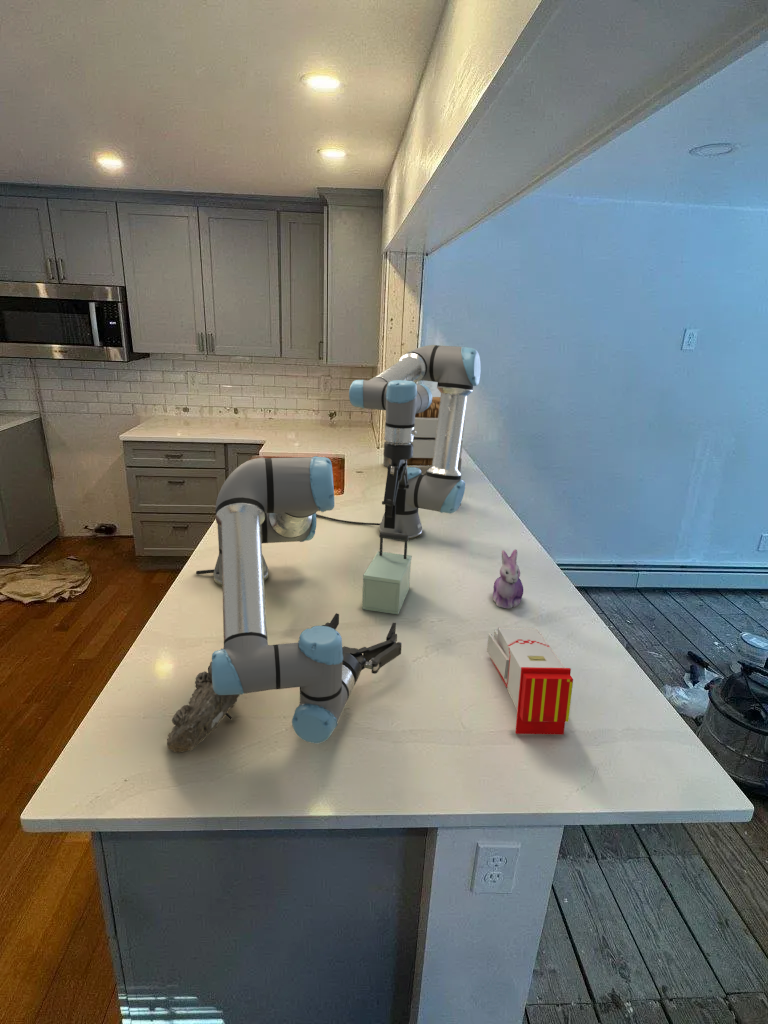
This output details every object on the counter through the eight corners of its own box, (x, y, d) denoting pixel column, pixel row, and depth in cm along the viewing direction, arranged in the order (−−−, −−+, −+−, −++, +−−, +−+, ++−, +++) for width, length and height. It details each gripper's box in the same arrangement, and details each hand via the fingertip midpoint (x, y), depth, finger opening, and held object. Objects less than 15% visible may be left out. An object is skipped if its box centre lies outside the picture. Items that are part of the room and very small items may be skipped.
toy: (534, 612, 132) (582, 675, 102) (529, 665, 135) (574, 741, 105) (482, 611, 131) (516, 674, 102) (478, 664, 134) (510, 740, 105)
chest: (375, 583, 163) (377, 555, 160) (409, 588, 161) (410, 560, 158) (362, 609, 149) (363, 578, 146) (398, 614, 147) (400, 584, 144)
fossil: (192, 660, 117) (244, 628, 112) (224, 691, 120) (276, 661, 115) (142, 746, 98) (202, 712, 93) (182, 779, 101) (242, 748, 96)
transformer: (382, 463, 289) (386, 382, 275) (445, 464, 293) (451, 384, 279) (390, 482, 257) (394, 392, 243) (460, 483, 261) (468, 394, 247)
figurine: (505, 613, 150) (512, 561, 145) (482, 596, 158) (488, 546, 153) (533, 606, 154) (540, 555, 149) (509, 589, 163) (515, 541, 158)
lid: (377, 554, 161) (378, 528, 158) (411, 559, 159) (413, 532, 156) (363, 578, 146) (364, 550, 143) (400, 584, 144) (401, 555, 141)
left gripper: (278, 681, 115) (314, 628, 135) (398, 704, 110) (417, 646, 130) (277, 650, 113) (314, 600, 132) (400, 672, 108) (419, 617, 127)
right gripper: (403, 454, 134) (399, 537, 141) (421, 434, 157) (416, 506, 164) (373, 451, 135) (370, 533, 143) (394, 431, 158) (391, 503, 166)
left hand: (365, 623), depth 131 cm, fingers open, 13 cm apart
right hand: (394, 519), depth 153 cm, fingers open, 13 cm apart
